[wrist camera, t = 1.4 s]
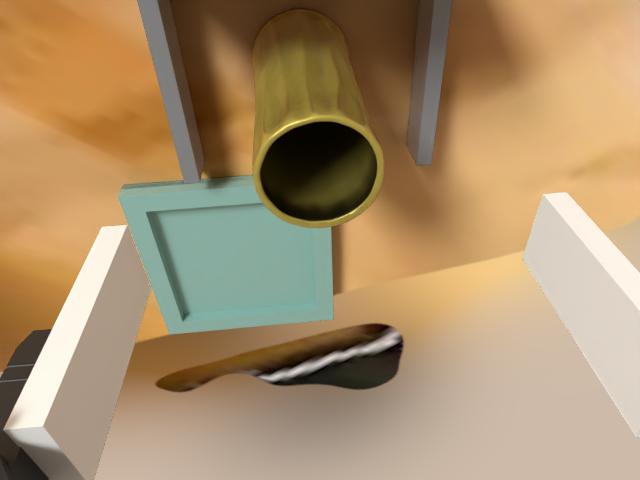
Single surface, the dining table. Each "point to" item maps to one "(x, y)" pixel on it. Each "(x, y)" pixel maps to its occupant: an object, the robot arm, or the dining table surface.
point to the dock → (180, 108)
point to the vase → (311, 124)
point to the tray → (227, 256)
